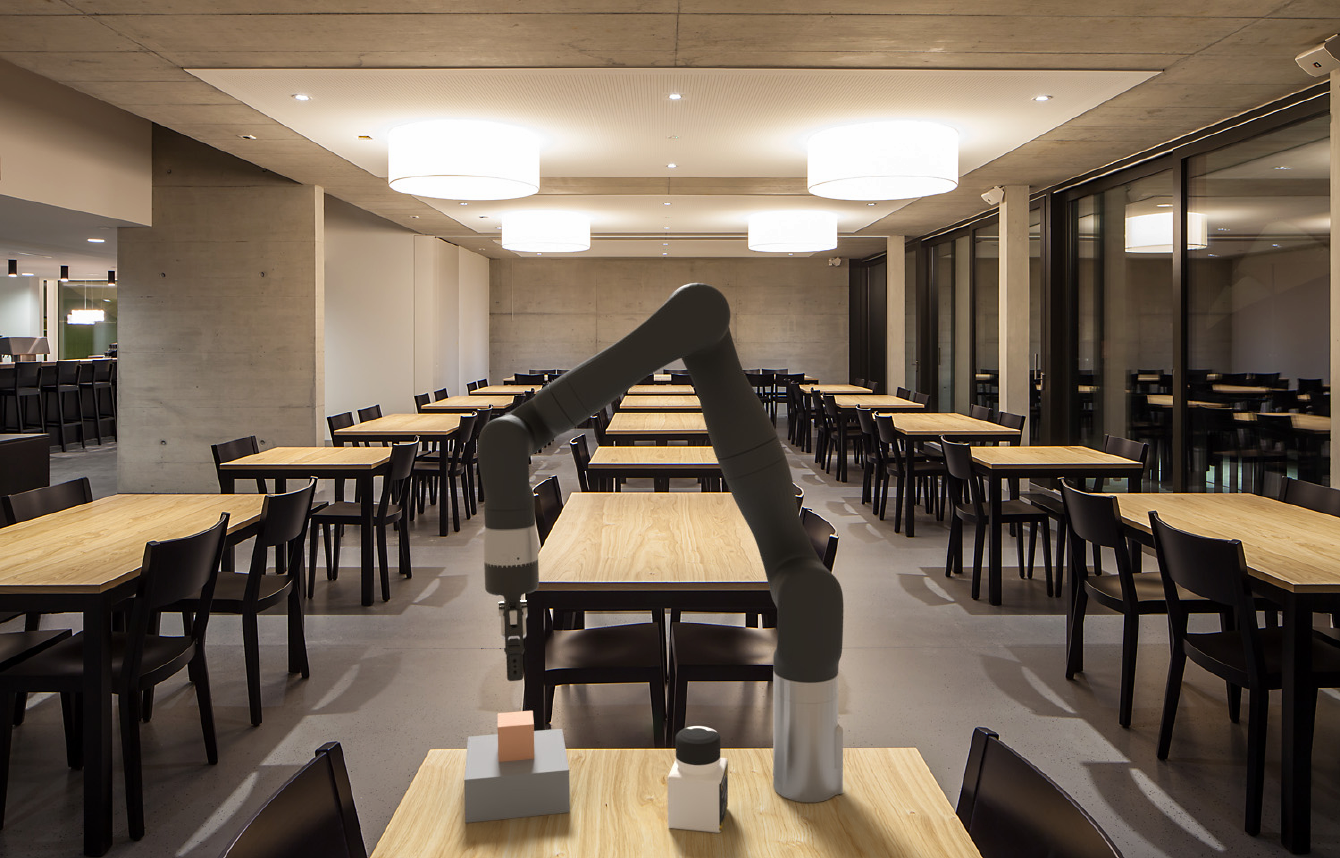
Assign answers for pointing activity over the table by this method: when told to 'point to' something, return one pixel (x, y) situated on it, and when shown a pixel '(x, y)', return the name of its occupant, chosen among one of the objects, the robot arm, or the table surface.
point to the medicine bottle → (698, 782)
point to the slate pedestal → (516, 779)
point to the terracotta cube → (515, 736)
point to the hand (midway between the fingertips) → (514, 669)
